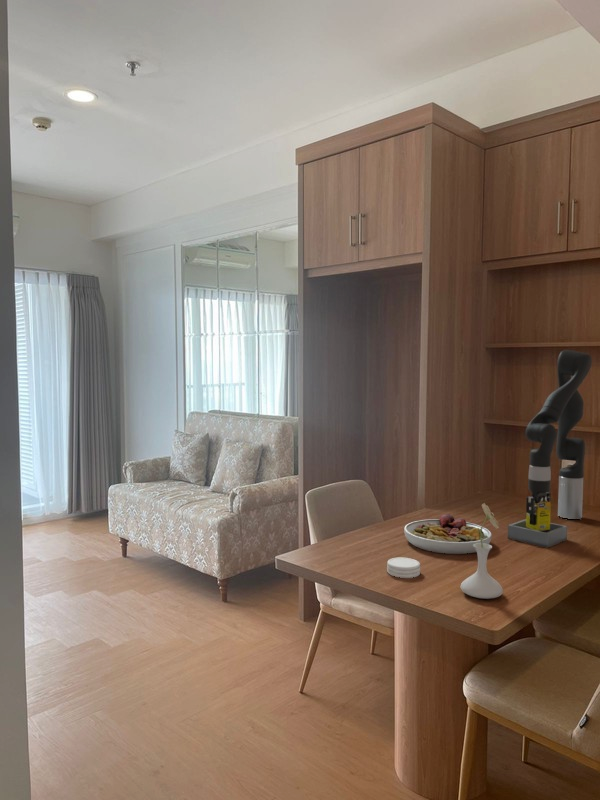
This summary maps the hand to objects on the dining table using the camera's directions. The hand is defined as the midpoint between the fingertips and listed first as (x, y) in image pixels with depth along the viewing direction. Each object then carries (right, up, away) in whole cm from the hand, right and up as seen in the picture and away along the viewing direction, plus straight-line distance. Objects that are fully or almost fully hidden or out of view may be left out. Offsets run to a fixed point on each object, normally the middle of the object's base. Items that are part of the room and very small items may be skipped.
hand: (538, 522), depth 222 cm
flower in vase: (-36, -9, -52) cm, 64 cm away
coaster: (-55, -8, -36) cm, 66 cm away
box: (0, -6, 0) cm, 6 cm away
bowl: (-34, -7, -5) cm, 35 cm away
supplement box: (0, -3, 0) cm, 3 cm away
